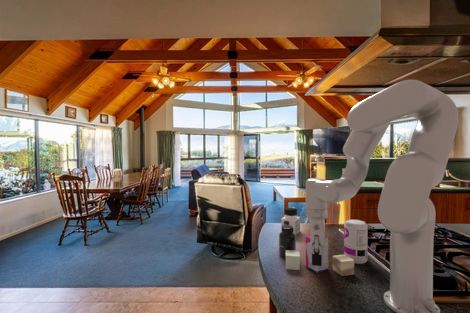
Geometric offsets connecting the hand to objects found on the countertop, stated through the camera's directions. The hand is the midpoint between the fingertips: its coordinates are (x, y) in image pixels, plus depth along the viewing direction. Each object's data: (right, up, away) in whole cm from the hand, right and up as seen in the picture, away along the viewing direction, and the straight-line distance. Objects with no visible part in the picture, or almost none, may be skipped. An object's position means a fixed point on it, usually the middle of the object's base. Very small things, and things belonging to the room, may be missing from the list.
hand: (316, 259), depth 90 cm
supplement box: (0, -3, 0) cm, 3 cm away
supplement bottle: (-8, -3, +11) cm, 14 cm away
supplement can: (+17, -3, +6) cm, 19 cm away
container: (0, -2, +40) cm, 40 cm away
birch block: (+8, -3, -3) cm, 9 cm away
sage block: (-8, -3, +2) cm, 9 cm away
